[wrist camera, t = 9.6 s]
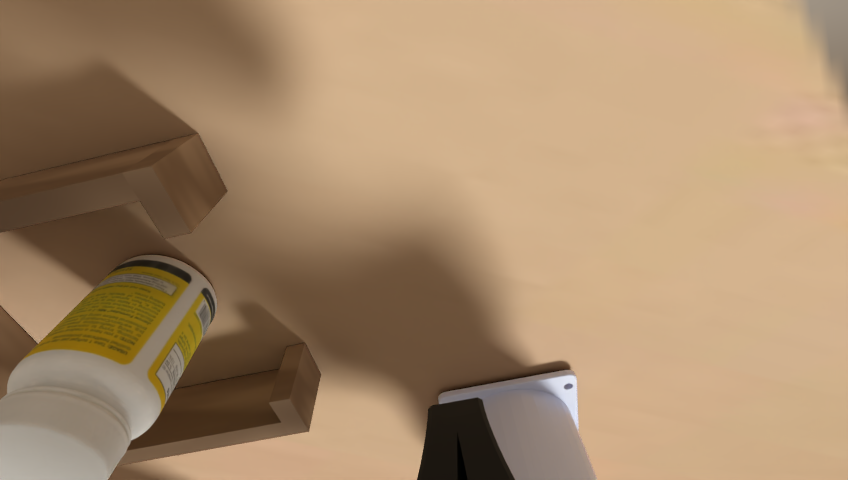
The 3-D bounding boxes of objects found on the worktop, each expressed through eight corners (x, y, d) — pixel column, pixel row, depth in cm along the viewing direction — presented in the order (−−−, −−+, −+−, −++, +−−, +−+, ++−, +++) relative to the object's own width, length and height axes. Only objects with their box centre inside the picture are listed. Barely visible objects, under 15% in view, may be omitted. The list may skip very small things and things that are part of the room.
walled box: (320, 374, 23) (308, 431, 20) (90, 417, 24) (46, 478, 21) (198, 133, 16) (151, 165, 13) (-122, 209, 17) (-234, 255, 14)
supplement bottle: (90, 277, 19) (-97, 448, 12) (168, 235, 18) (17, 394, 11) (167, 342, 22) (49, 519, 14) (240, 308, 21) (153, 479, 13)
